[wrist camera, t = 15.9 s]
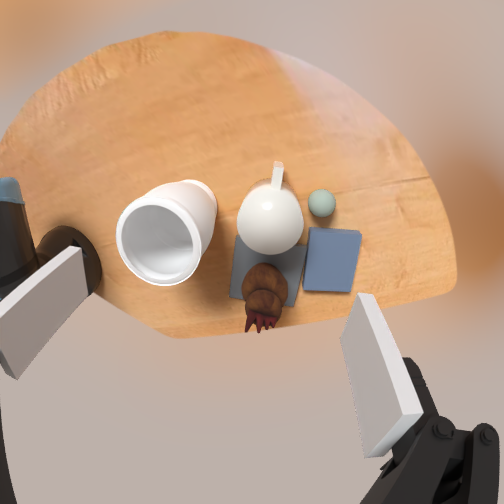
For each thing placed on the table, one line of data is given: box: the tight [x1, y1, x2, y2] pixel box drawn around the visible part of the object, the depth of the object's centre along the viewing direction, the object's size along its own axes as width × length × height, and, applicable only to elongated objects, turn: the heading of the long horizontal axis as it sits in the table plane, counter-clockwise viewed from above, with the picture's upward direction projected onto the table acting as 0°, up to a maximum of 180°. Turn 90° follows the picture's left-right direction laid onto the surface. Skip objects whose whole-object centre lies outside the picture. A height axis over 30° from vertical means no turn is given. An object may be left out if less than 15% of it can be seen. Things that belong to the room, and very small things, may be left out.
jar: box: [116, 180, 217, 286], centre depth 37 cm, size 11×10×15 cm
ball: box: [308, 189, 336, 217], centre depth 41 cm, size 4×4×4 cm
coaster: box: [229, 235, 307, 307], centre depth 47 cm, size 11×11×1 cm
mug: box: [237, 161, 304, 255], centre depth 39 cm, size 8×11×9 cm
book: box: [302, 227, 362, 292], centre depth 45 cm, size 8×10×2 cm
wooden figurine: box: [241, 262, 288, 333], centre depth 40 cm, size 7×6×15 cm
